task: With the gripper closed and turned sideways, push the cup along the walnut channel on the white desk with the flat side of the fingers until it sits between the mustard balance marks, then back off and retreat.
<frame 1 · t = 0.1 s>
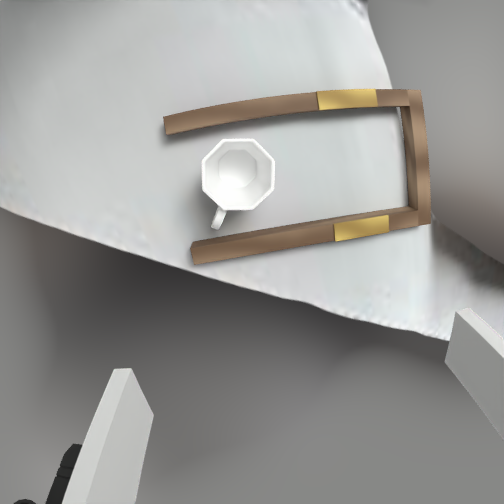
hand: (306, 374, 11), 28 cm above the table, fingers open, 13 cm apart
cup: (232, 179, 36), on the table
channel: (301, 168, 36), on the table
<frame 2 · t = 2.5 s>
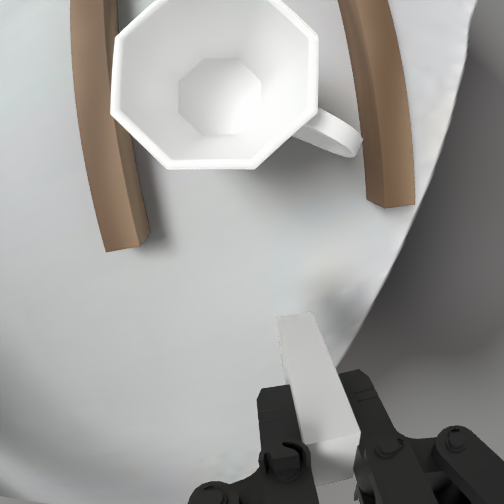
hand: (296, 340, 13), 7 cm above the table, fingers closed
cup: (245, 109, 16), on the table
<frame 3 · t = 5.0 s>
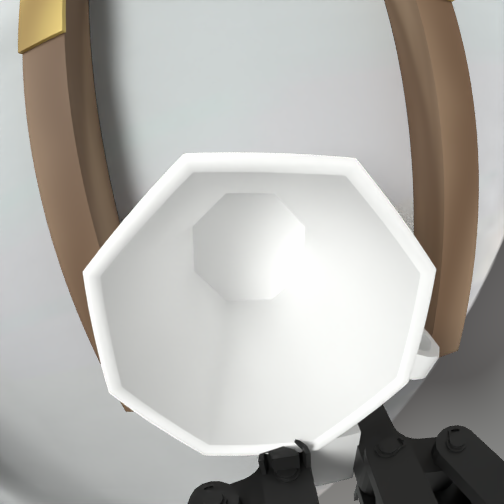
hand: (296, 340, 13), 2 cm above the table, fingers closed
cup: (279, 252, 14), on the table, touching gripper
channel: (251, 62, 11), on the table
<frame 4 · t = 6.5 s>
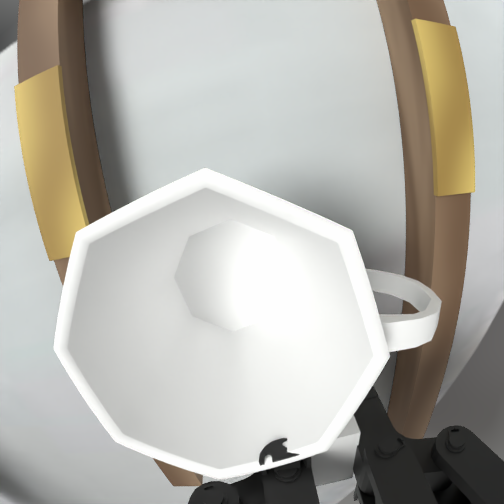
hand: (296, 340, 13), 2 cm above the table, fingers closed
cup: (268, 268, 14), on the table, touching gripper
channel: (272, 259, 14), on the table
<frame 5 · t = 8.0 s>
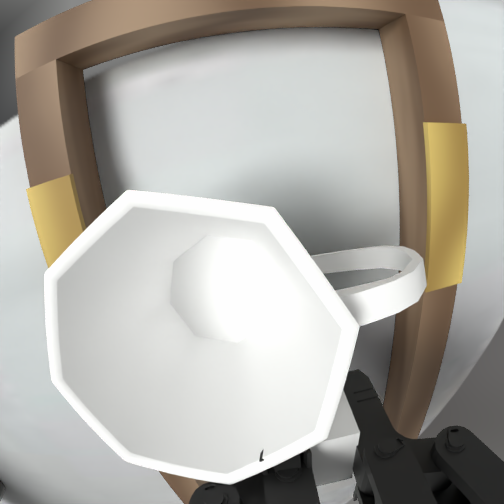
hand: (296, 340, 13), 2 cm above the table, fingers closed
cup: (260, 274, 14), on the table, touching gripper, hand
channel: (277, 335, 16), on the table
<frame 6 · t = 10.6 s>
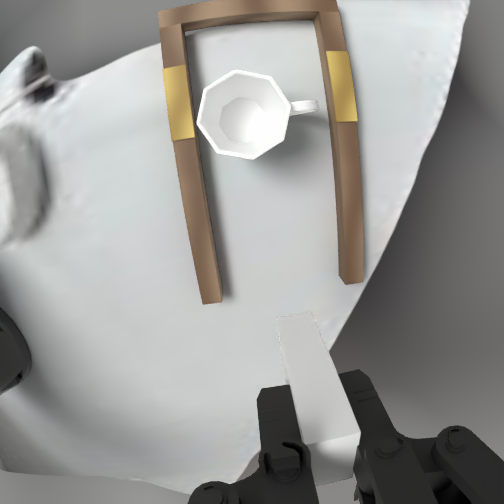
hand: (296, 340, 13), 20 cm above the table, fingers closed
cup: (257, 118, 29), on the table
channel: (267, 153, 30), on the table
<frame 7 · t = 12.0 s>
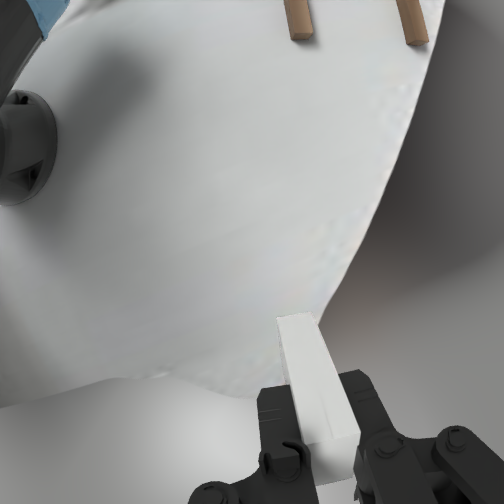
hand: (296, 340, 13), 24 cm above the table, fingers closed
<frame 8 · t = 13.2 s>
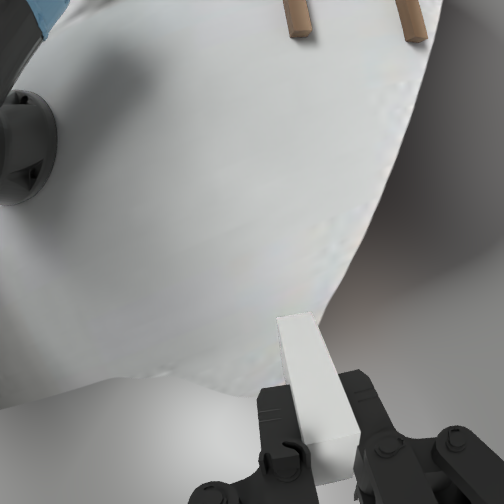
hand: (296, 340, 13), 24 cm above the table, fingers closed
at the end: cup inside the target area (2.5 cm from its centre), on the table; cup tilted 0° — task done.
